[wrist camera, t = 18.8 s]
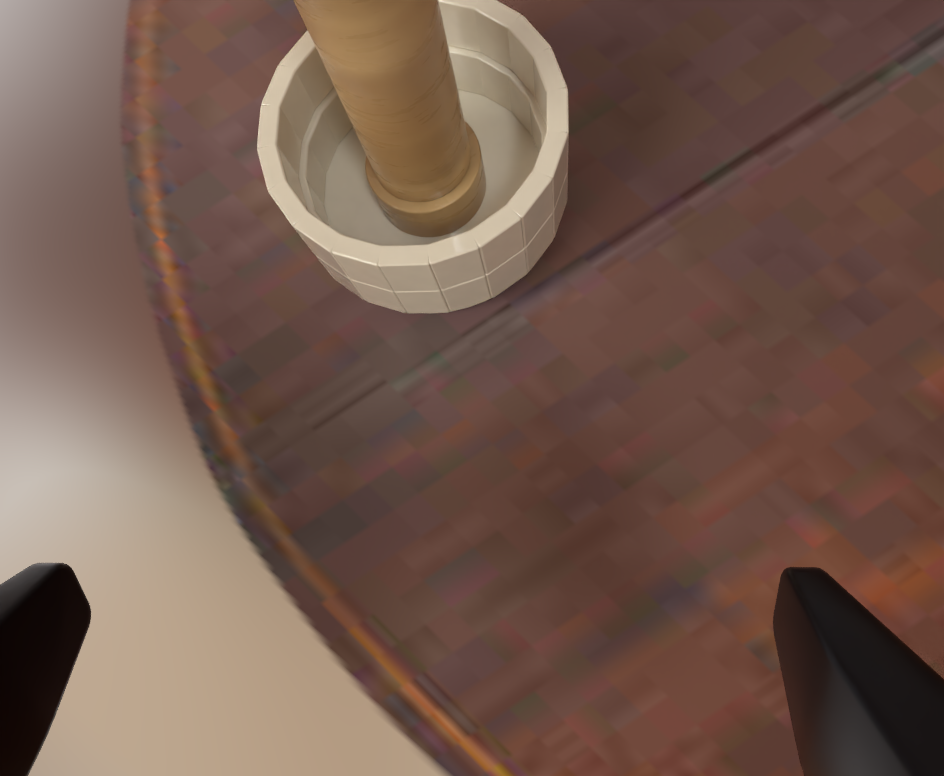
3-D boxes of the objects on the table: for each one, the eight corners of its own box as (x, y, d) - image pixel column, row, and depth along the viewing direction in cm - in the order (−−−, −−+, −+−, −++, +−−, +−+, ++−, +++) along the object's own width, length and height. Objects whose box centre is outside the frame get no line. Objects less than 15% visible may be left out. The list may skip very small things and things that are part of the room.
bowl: (460, 371, 24) (437, 327, 20) (257, 228, 26) (196, 159, 22) (620, 161, 25) (632, 74, 21) (413, 39, 27) (385, -64, 23)
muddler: (504, 207, 24) (435, -244, 11) (404, 256, 24) (209, -135, 11) (458, 120, 25) (340, -395, 12) (361, 167, 25) (132, -294, 12)
